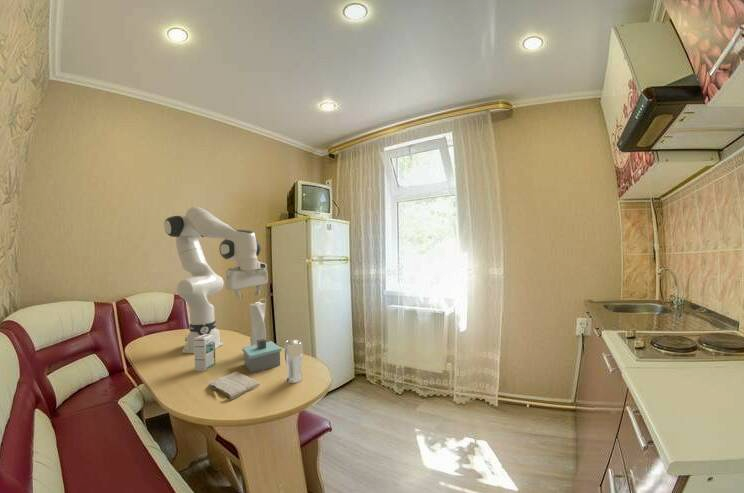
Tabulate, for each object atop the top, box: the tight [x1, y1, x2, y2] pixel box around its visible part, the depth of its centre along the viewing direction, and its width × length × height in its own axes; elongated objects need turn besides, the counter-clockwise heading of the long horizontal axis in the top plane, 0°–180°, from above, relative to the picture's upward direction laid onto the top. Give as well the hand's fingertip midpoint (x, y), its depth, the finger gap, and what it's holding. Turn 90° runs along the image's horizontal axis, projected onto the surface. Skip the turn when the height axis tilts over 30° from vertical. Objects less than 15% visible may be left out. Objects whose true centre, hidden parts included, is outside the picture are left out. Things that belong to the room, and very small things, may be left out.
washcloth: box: [207, 371, 261, 401], centre depth 106 cm, size 12×18×3 cm, turn 55°
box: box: [243, 351, 281, 374], centre depth 124 cm, size 12×12×7 cm
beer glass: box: [284, 339, 304, 384], centre depth 111 cm, size 7×7×15 cm
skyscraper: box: [249, 297, 267, 346], centre depth 138 cm, size 8×8×28 cm
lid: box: [242, 339, 282, 359], centre depth 124 cm, size 13×13×6 cm
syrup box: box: [193, 334, 216, 372], centre depth 124 cm, size 6×6×14 cm
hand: (248, 297), depth 124 cm, fingers open, 8 cm apart
